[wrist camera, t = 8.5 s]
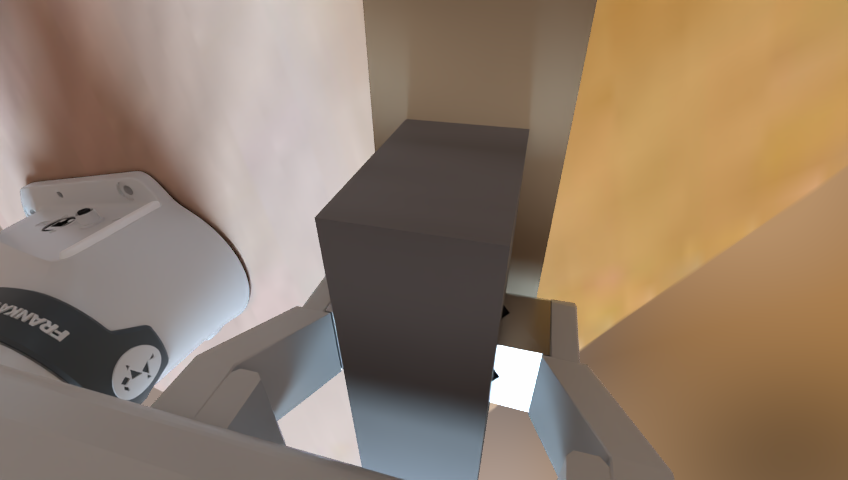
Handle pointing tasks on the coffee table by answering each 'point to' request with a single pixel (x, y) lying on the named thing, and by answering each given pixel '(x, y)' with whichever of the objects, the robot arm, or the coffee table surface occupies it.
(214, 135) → the coffee table surface
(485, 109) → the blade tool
